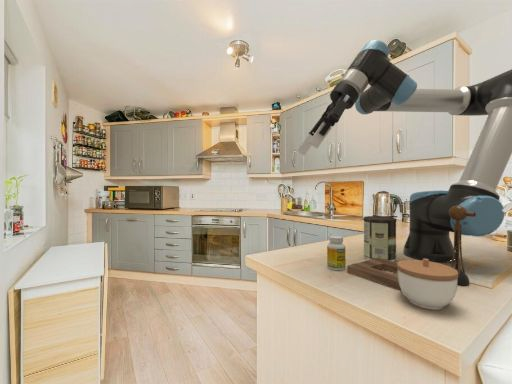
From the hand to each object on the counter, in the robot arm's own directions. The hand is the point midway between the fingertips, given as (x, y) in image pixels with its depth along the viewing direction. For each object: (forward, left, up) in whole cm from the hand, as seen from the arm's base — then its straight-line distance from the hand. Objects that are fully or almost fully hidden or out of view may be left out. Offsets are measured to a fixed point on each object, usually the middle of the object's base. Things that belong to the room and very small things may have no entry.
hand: (306, 149), depth 71 cm
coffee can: (-31, +3, -36) cm, 48 cm away
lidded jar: (-8, +28, -36) cm, 46 cm away
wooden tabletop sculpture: (-27, +27, -36) cm, 53 cm away
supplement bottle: (-10, +2, -36) cm, 38 cm away
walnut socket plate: (-17, +14, -36) cm, 42 cm away
